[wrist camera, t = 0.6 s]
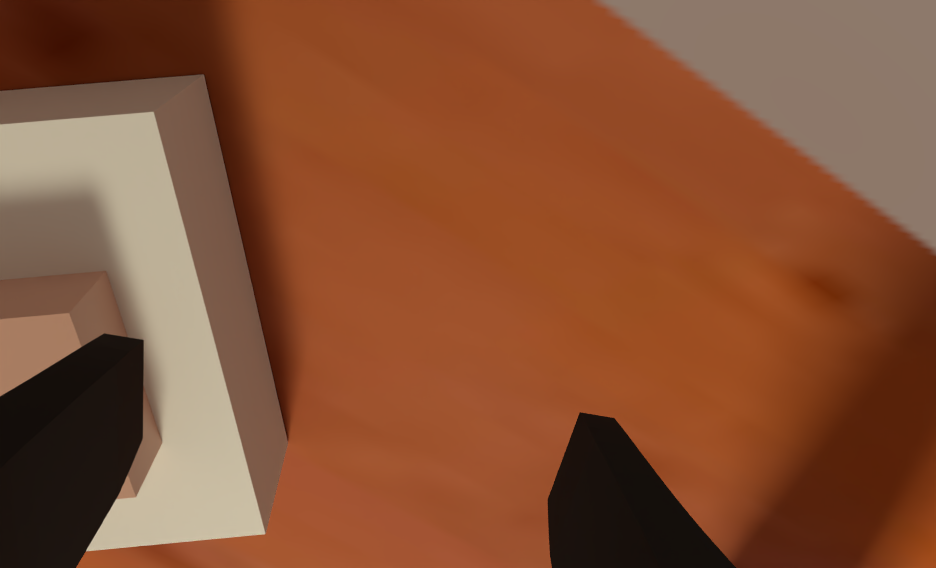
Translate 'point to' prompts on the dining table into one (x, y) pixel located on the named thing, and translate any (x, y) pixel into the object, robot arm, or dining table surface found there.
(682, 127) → the dining table surface
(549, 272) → the dining table surface
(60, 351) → the block
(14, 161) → the cream square platform
